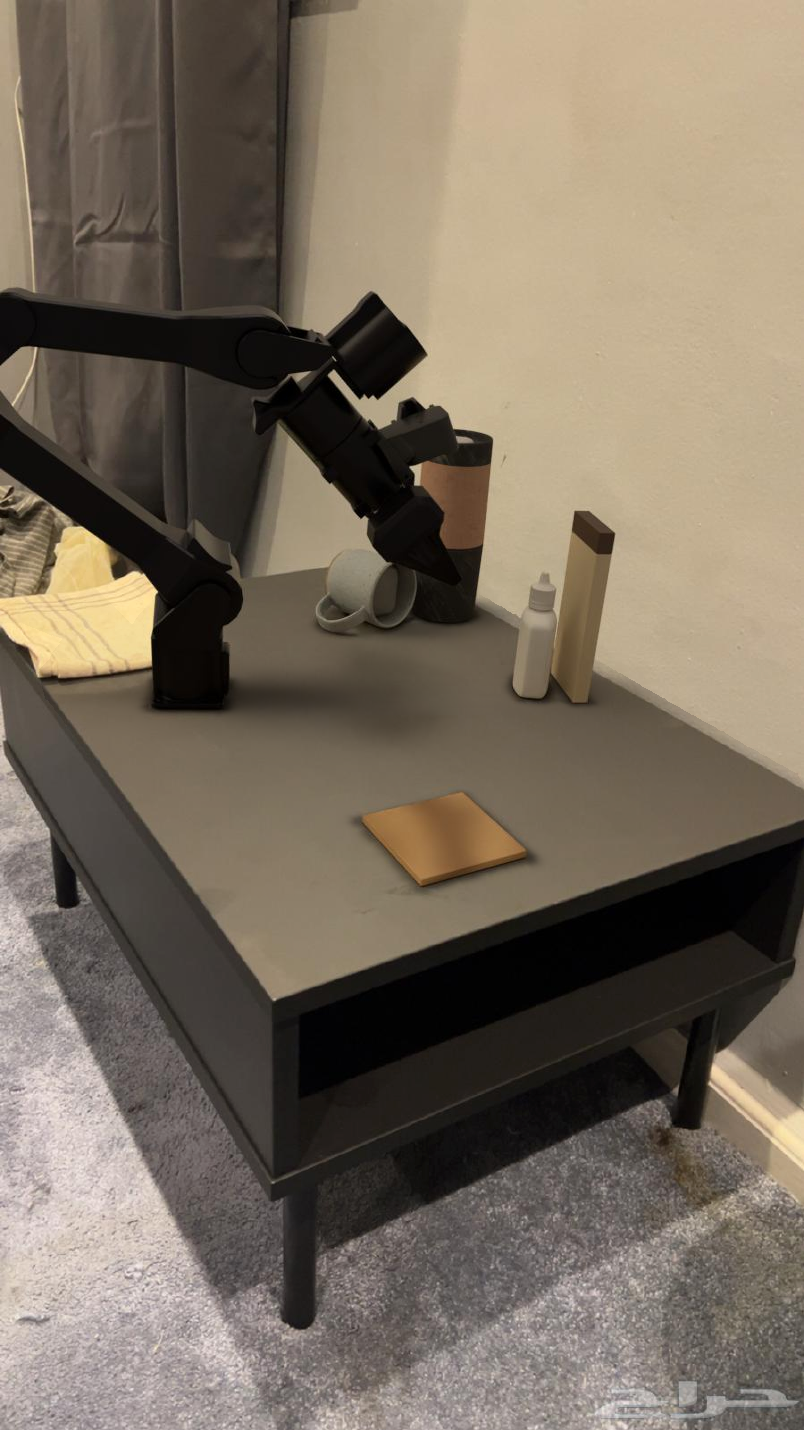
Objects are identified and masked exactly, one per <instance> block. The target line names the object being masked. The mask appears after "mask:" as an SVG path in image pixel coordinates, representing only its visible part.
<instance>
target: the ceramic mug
mask: <svg viewBox="0 0 804 1430" xmlns="http://www.w3.org/2000/svg"><path fill="white" fill-rule="evenodd" d="M416 589H417V580H416V574H415V571H414V570H412V569H409V568H407V567H404V566H402V565H399V564H393V563H391V562H388V563H387V562H386V561H385V560H384V559H383V558H382V557H381V556H380V555H379V553H378V552H376V551H372V550H367V549H363V548H348V549H344V550H342V551H340V552H339V553H338V554H336V555H335V556H334V557H333V558H332V560H331V561H330V563H329V565H328V566H327V570H326V573H325V577H324V591H325V595H324V596H323V597H322V598H321V599H320V600H319V601H318V603H317V605H316V606H315V616H316V619H317V622H318V624H319V625H320V627H321V628H323V630H325V631H328V632H331V633H342V632H347V631H351V630H353V629H354V628H356V627H358V626H360V625H361V624H363V623H364V622H367V623H370V624H372V625H374V626H376V627H379V628H383V629H390V628H391V629H392V628H393V627H396V626H398V625H400V623H402V622H403V621H404V620H405V619H406V618H407V616H408V615H409V613H410V612H411V610H412V609H413V603H414V600H415V595H416ZM332 606H334V607H335V608H337V609H338V610H339V611H341V612H343V613H346V614H348V616H345V617H343V618H340V619H333V620H332V619H331V620H329V619H327V618H326V617H325V616H324V614H325V613H326V611H328V609H329V608H330V607H332Z"/></svg>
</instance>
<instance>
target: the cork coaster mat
mask: <svg viewBox="0 0 804 1430" xmlns="http://www.w3.org/2000/svg"><path fill="white" fill-rule="evenodd" d="M362 823H363V824H364V826H365V827H367V829H368V830H369V831H370V832H371V833H372V834H373V835H374V836H375V838H377V840H378V841H379V842H380V843H381V844H382V845H383V847H385V848H386V849H387V851H388V852H389V853H390V854H391V855H392V856H393V858H395V859H396V860H397V861H398V863H399V864H400V865H401V866H402V867H403V868H404V869H405V870H406V871H407V872H408V874H409V875H410V876H411V877H412V879H414V880H415V882H417V884H418V885H419V886H420V887H425V886H427V885H430V884H434V883H435V884H436V883H438V882H441V881H445V880H449V879H452V878H456V877H459V876H464V875H467V874H469V873H473V872H477V871H481V870H484V869H489V868H491V867H495V866H498V865H502V864H507V863H509V862H513V861H516V860H521V859H524V858H527V853H528V850H527V849H526V848H525V847H524V846H523V845H522V844H520V843H519V842H518V840H516V838H514V837H513V836H511V834H509V833H508V832H507V831H506V830H505V829H504V828H503V827H501V825H499V824H498V823H497V822H496V821H495V820H494V819H493V818H492V817H491V816H489V814H488V813H487V812H485V811H484V810H483V809H482V808H480V807H479V805H477V804H476V803H475V802H474V801H473V800H472V799H471V798H470V797H468V795H466V794H465V793H464V792H463V791H460V792H457V793H456V792H455V793H452V794H448V795H444V796H439V797H435V798H432V799H427V800H422V801H419V802H414V803H410V804H405V805H401V806H397V807H393V808H389V809H385V810H380V811H377V812H371V813H368V814H367V813H366V814H363V815H362Z"/></svg>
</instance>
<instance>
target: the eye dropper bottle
mask: <svg viewBox="0 0 804 1430" xmlns="http://www.w3.org/2000/svg"><path fill="white" fill-rule="evenodd" d="M550 579H551V577H550V572H549V571H546V570H544V571H541V573H540V576H539V578H538V581H535V582H533V583H532V584H530V588H529V594H528V595H529V597H528V604H527V606H526V607H525V608H524V609H523V610H522V613H521V617H520V622H519V630H518V639H517V646H516V653H515V661H514V669H513V676H512V677H513V678H512V687H513V690H514V692H515V693H516V694H517V695H518V696H519V697H521V698H525V699H526V698H527V699H543V698H544V697H545V695H546V694H547V691H548V688H549V682H550V681H549V680H550V675H551V668H552V661H553V654H554V648H555V641H556V634H557V627H558V618H557V614H556V611H555V610H554V609H555V602H556V600H555V599H556V594H557V587H556V586H555V585H554V584H552V583H551V580H550Z"/></svg>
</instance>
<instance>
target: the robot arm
mask: <svg viewBox="0 0 804 1430" xmlns="http://www.w3.org/2000/svg"><path fill="white" fill-rule="evenodd" d="M27 347H30V348H40V349H46V350H48V349H49V350H57V351H65V352H74V353H81V354H89V355H90V354H91V355H98V356H99V355H100V356H107V357H117V358H124V359H132V360H141V361H151V362H158V363H167V364H175V365H178V366H181V367H184V368H188V369H191V370H194V371H196V372H198V373H200V374H203V375H206V376H209V377H212V378H214V379H217V380H220V381H224V382H227V383H231V384H233V385H238V386H240V387H243V388H247V389H250V390H256V391H266V390H270V389H274V388H276V387H277V386H278V385H279V386H278V387H277V388H276V389H274V391H273V392H272V393H271V394H269V395H268V396H258V395H257V396H256V395H253V396H252V397H251V404H252V408H253V417H252V428H253V431H254V433H255V435H257V436H258V437H260V436H263V435H265V433H266V432H267V431H268V430H270V429H271V428H272V427H273V426H274V425H275V424H276V423H277V424H278V425H279V426H280V427H281V428H282V429H283V431H284V432H285V433H286V434H287V435H288V437H290V438H291V440H292V441H293V442H294V444H296V445H297V447H299V449H300V450H301V451H302V452H303V453H304V454H305V455H306V457H307V458H309V459H310V461H311V463H313V465H315V467H316V469H318V470H319V473H320V476H321V477H322V478H323V479H324V481H326V483H328V485H333V487H334V488H335V489H336V490H337V491H338V492H339V493H340V495H341V496H342V497H343V498H344V499H345V500H346V501H347V502H348V504H349V505H350V507H351V509H352V511H353V513H354V514H355V515H356V516H357V517H358V519H360V520H362V519H363V518H364V517H365V518H367V525H366V536H367V539H368V540H369V543H370V544H371V546H372V548H373V549H374V550H375V552H376V553H379V555H380V556H381V557H382V558H383V559H384V560H385V561H386V562H387V563H388V562H391V563H393V564H399V565H402V566H404V567H407V568H409V569H412V570H415V571H417V572H419V573H422V574H424V575H427V576H429V577H431V578H434V579H436V580H438V581H441V582H443V583H445V584H448V585H450V586H452V587H455V586H456V585H458V584H459V583H460V582H461V581H462V579H463V578H462V576H461V574H460V572H459V571H458V569H457V567H456V565H455V563H454V561H453V560H452V558H451V556H450V554H449V552H448V550H447V549H446V547H445V545H444V543H443V541H442V539H441V537H440V530H441V525H442V524H443V522H444V514H445V513H444V511H443V510H442V509H441V507H440V506H439V505H438V503H437V502H436V501H435V500H434V499H433V497H432V496H431V495H430V494H429V492H428V491H427V490H426V489H425V488H424V487H423V486H420V485H417V484H415V480H416V473H415V472H414V471H413V470H412V469H411V468H410V467H415V466H418V465H421V464H422V463H423V462H426V461H428V460H431V459H433V458H436V457H438V456H441V455H449V454H452V453H454V452H456V451H457V450H458V449H459V445H458V442H457V439H456V436H455V432H454V429H455V428H454V426H453V423H452V420H451V417H450V413H449V412H448V411H447V410H446V409H445V408H443V406H441V405H435V404H433V403H432V404H430V405H428V407H427V408H425V407H424V405H422V404H421V403H420V402H419V401H418V399H416V398H415V397H414V396H411V397H409V398H406V399H404V400H402V401H399V402H397V403H398V404H397V412H396V419H392V420H390V424H388V425H386V426H384V427H381V428H378V427H377V426H376V425H375V423H374V422H373V420H371V418H369V419H368V420H367V419H366V418H365V417H364V416H363V415H362V414H361V413H360V411H358V409H357V408H356V407H355V405H354V404H353V403H352V402H351V401H350V400H349V398H348V397H347V396H346V395H345V394H344V392H343V391H342V390H341V389H340V388H339V386H338V385H337V384H336V383H335V382H334V380H333V379H332V378H331V377H330V376H329V375H330V374H331V373H332V372H333V371H334V372H335V373H336V374H337V376H339V377H340V378H341V380H342V381H343V383H345V385H346V386H347V387H348V388H349V390H350V391H351V392H352V393H353V395H354V396H355V397H356V398H357V399H358V400H359V401H360V400H362V398H364V397H366V398H367V399H368V400H370V399H371V398H372V397H374V398H375V400H376V401H379V400H380V399H381V398H383V396H385V395H386V394H387V393H388V392H389V391H390V390H391V389H393V387H394V386H396V385H397V384H398V383H399V382H400V381H401V380H402V379H404V377H406V376H407V375H408V374H409V373H411V371H413V369H415V368H416V367H417V366H418V365H419V364H420V363H422V361H424V360H425V359H426V358H427V357H428V356H429V355H428V352H427V351H426V349H425V348H424V346H423V345H422V344H421V342H420V341H419V339H418V338H417V337H416V335H415V334H414V333H413V332H412V330H411V329H410V328H409V327H408V325H407V324H406V323H404V322H403V321H401V320H400V319H399V318H398V317H397V315H395V313H394V312H393V311H392V310H391V309H390V308H389V307H388V305H387V304H386V303H385V302H384V301H383V299H382V298H381V297H380V296H379V294H377V293H376V292H375V291H373V290H369V291H368V292H367V293H366V294H365V295H364V296H363V297H362V298H361V299H359V301H358V302H357V304H356V306H355V307H354V308H353V309H352V311H350V312H349V313H348V314H347V315H346V316H345V317H344V318H343V319H341V320H340V322H338V324H336V325H335V326H334V327H333V328H331V330H329V332H327V333H326V334H325V335H324V334H323V333H322V332H318V331H314V329H313V328H310V329H305V328H301V327H296V326H293V325H289V324H285V323H284V321H283V320H282V318H281V316H279V315H278V314H277V313H276V311H273V310H272V309H270V308H268V307H265V306H262V305H252V304H249V305H233V306H232V305H231V306H215V307H208V308H197V309H188V310H187V309H186V310H171V309H164V308H156V307H148V306H140V305H131V304H126V303H125V304H124V303H117V302H110V301H109V302H108V301H100V300H94V299H93V300H92V299H85V298H77V297H69V296H61V295H54V294H47V293H39V292H33V291H31V290H28V289H25V288H23V287H7V288H5V289H3V290H1V291H0V367H1V366H2V365H3V364H5V362H7V361H8V360H9V359H10V358H11V357H12V356H14V354H15V353H16V352H18V351H19V350H20V349H21V348H27ZM300 373H307V374H306V375H305V376H303V377H302V378H300V379H299V380H297V379H296V378H295V377H294V375H295V374H300ZM292 374H293V375H292ZM289 375H290V376H289ZM288 376H289V377H288ZM0 470H1V471H2V472H4V473H6V474H7V475H9V476H10V477H11V478H13V479H14V480H16V481H17V482H18V483H20V484H21V485H23V487H25V488H27V489H28V490H30V491H31V492H32V493H34V494H35V495H36V496H38V497H39V498H41V499H43V500H44V501H45V502H46V503H48V504H49V505H51V506H52V507H53V508H55V509H57V511H59V512H60V513H62V514H63V515H65V516H66V517H67V518H69V519H70V520H72V521H73V522H75V523H76V524H78V525H79V526H80V527H82V528H83V529H84V530H86V531H88V532H89V533H90V534H91V535H93V536H94V537H96V538H98V539H99V540H100V541H101V542H103V543H104V544H106V545H107V546H109V547H110V548H111V549H113V550H114V551H116V552H117V553H118V554H119V555H121V556H123V557H124V558H126V559H127V560H128V561H130V562H131V563H132V564H133V565H135V566H136V567H137V568H138V569H139V570H140V572H142V574H143V575H144V576H145V577H146V578H147V580H148V581H149V582H150V584H151V585H152V586H153V588H154V589H155V590H156V591H157V592H156V594H155V595H154V603H153V619H152V630H151V635H150V653H151V680H152V690H151V695H150V701H149V703H150V707H151V708H154V709H157V708H158V709H161V708H162V709H221V708H224V707H225V706H224V705H225V695H228V694H229V693H230V687H231V686H230V684H231V655H230V654H231V650H230V648H231V644H230V643H229V642H228V641H224V627H225V626H228V625H230V624H231V623H232V622H233V621H234V620H235V619H237V617H238V616H239V614H240V612H241V611H242V608H243V605H244V604H243V603H244V594H243V586H242V578H241V571H240V570H241V569H240V566H239V562H238V560H237V559H236V557H235V556H234V555H233V554H232V552H231V543H230V542H229V541H225V540H222V539H220V538H218V537H216V536H214V535H213V534H212V533H210V532H209V530H207V528H206V527H205V526H204V525H203V524H202V523H201V522H200V521H199V520H197V519H196V518H192V520H191V521H190V523H189V525H188V527H187V528H186V529H182V528H180V527H176V526H173V525H171V524H167V523H166V522H164V521H162V520H160V519H159V518H158V517H156V516H155V515H153V514H152V513H151V512H150V511H148V510H146V509H145V508H144V507H143V506H142V505H140V504H138V503H137V502H136V501H134V499H132V498H131V497H129V496H128V495H127V494H125V493H124V492H122V490H120V489H118V488H117V487H116V486H115V485H113V484H112V483H110V482H109V481H108V480H106V479H104V478H103V477H102V476H101V475H99V474H98V473H97V472H96V471H94V470H93V469H92V468H90V467H89V466H88V465H86V464H84V463H83V462H82V461H81V460H79V459H78V458H76V457H75V456H74V455H72V454H71V453H69V452H68V451H67V450H66V449H64V448H63V447H61V446H60V445H59V444H57V443H56V442H55V441H53V440H52V439H51V438H49V437H48V436H47V435H45V434H44V433H43V432H41V431H40V430H39V429H37V428H35V426H33V425H32V424H30V423H29V422H27V420H26V419H24V418H23V416H21V415H20V413H19V412H18V411H17V410H16V409H15V407H14V406H13V405H12V403H11V402H10V400H8V398H7V397H6V396H5V394H4V393H3V392H2V391H1V390H0Z"/></svg>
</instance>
